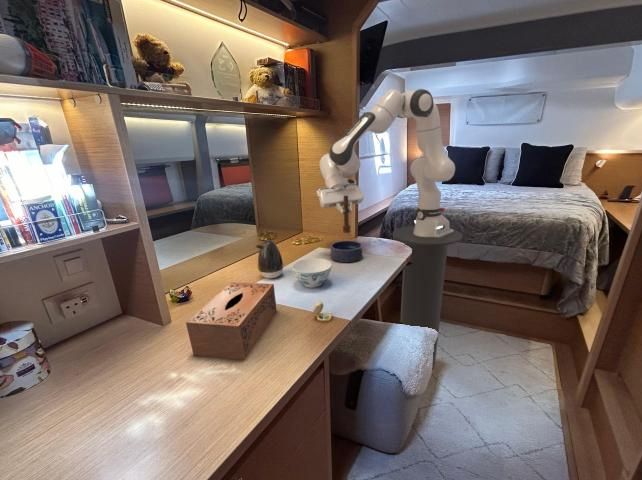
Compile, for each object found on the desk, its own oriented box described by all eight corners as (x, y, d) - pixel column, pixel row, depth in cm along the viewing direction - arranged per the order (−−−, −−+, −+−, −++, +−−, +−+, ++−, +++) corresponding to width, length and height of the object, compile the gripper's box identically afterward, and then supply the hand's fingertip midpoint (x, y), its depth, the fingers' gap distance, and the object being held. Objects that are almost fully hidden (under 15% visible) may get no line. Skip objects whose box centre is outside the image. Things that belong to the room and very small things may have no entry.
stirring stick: (347, 230, 154) (346, 194, 147) (351, 232, 151) (350, 195, 145) (341, 231, 152) (340, 195, 146) (345, 233, 150) (344, 196, 143)
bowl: (350, 250, 165) (350, 238, 162) (368, 258, 153) (368, 246, 151) (325, 256, 158) (324, 244, 156) (342, 265, 147) (341, 252, 144)
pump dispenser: (254, 276, 139) (249, 240, 133) (275, 269, 145) (272, 235, 139) (267, 283, 132) (262, 246, 126) (289, 276, 138) (285, 240, 132)
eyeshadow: (325, 323, 102) (324, 308, 100) (312, 318, 105) (311, 304, 103) (333, 317, 105) (333, 303, 104) (321, 313, 108) (320, 299, 106)
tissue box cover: (235, 309, 113) (231, 282, 109) (276, 311, 110) (273, 283, 106) (193, 355, 90) (185, 322, 86) (244, 359, 87) (238, 326, 83)
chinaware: (339, 286, 127) (339, 267, 124) (303, 295, 120) (301, 275, 117) (321, 273, 139) (320, 255, 136) (287, 281, 133) (285, 263, 130)
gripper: (316, 184, 146) (326, 211, 141) (358, 179, 152) (369, 205, 148) (313, 193, 151) (323, 219, 147) (354, 188, 158) (364, 213, 154)
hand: (346, 212), depth 147 cm, fingers closed on stirring stick, 2 cm apart
